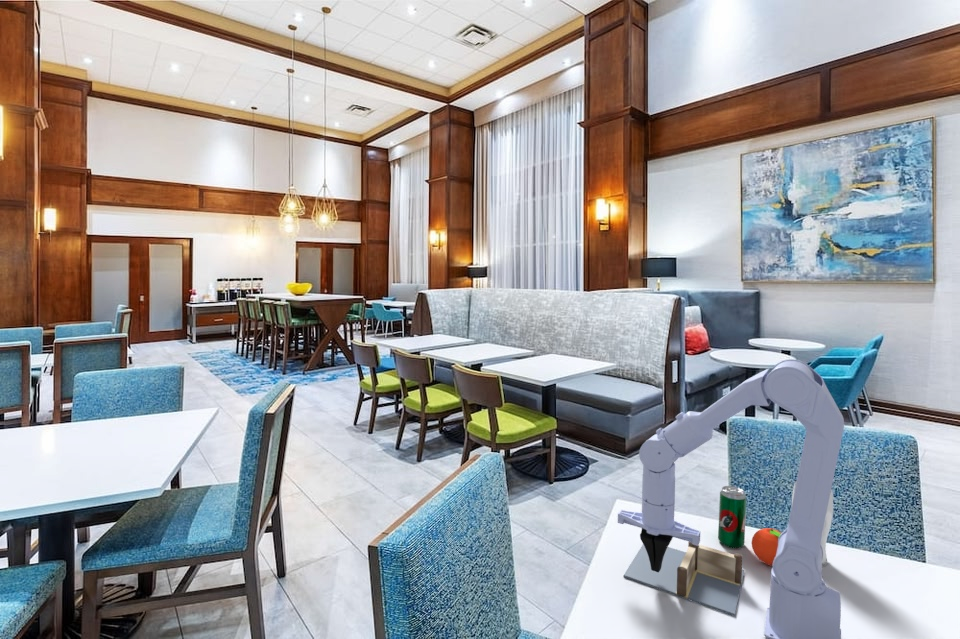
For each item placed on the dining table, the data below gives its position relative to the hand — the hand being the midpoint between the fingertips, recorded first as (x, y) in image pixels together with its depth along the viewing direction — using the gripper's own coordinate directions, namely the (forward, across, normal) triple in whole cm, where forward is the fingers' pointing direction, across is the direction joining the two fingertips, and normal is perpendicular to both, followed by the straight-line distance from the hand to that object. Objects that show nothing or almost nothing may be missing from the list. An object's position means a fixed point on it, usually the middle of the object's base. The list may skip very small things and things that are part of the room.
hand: (656, 568), depth 90 cm
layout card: (+3, +4, +6) cm, 7 cm away
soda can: (+3, +10, +23) cm, 25 cm away
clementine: (+3, +18, +19) cm, 26 cm away
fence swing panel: (+2, +5, +2) cm, 6 cm away
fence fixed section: (+2, +9, +8) cm, 12 cm away
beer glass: (+3, +24, +26) cm, 36 cm away
